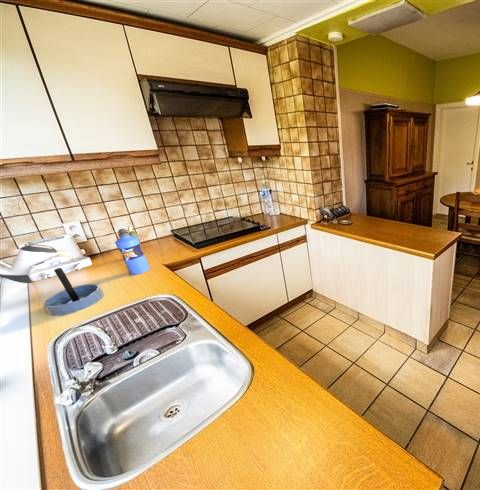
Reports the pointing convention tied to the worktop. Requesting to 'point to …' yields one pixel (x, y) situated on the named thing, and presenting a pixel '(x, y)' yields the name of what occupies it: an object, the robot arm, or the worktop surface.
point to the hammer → (67, 285)
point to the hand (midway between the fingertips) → (62, 272)
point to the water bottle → (132, 253)
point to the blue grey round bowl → (61, 306)
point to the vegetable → (133, 234)
